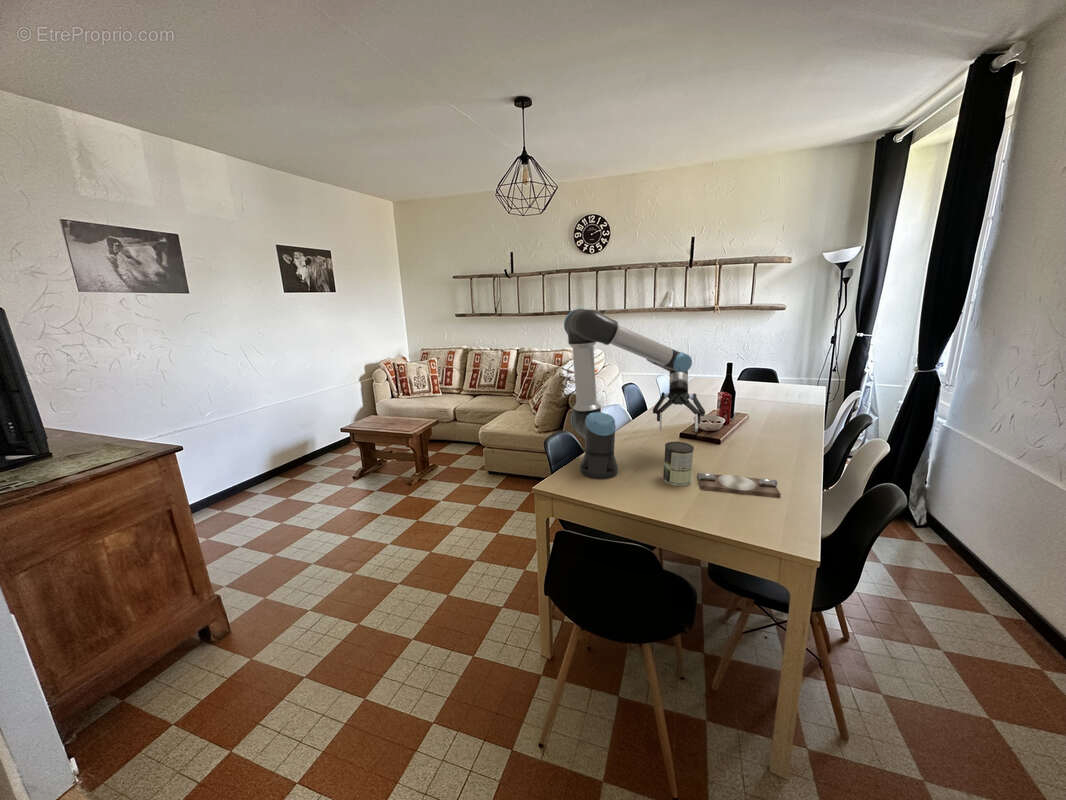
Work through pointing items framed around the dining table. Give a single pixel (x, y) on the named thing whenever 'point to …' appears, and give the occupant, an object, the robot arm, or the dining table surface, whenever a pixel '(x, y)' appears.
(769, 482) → the shaft stubs
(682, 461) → the coffee can
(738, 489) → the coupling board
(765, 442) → the dining table surface
